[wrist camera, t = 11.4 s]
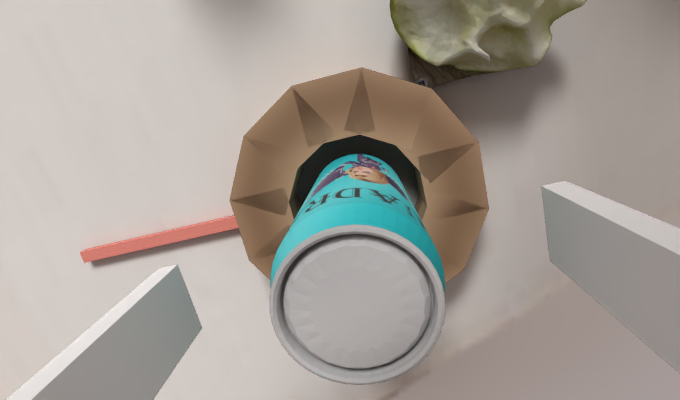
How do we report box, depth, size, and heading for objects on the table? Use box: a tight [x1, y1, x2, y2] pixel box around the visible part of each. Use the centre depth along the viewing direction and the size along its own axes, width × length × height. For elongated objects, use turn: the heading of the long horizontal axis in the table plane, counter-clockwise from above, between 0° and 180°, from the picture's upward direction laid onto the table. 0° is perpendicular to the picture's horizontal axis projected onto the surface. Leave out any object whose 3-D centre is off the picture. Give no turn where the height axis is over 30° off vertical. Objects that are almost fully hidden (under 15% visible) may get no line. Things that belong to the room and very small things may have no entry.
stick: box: [80, 215, 238, 263], centre depth 27 cm, size 1×13×1 cm, turn 104°
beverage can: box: [270, 154, 445, 385], centre depth 18 cm, size 6×6×15 cm
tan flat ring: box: [230, 68, 489, 284], centre depth 24 cm, size 15×15×3 cm
